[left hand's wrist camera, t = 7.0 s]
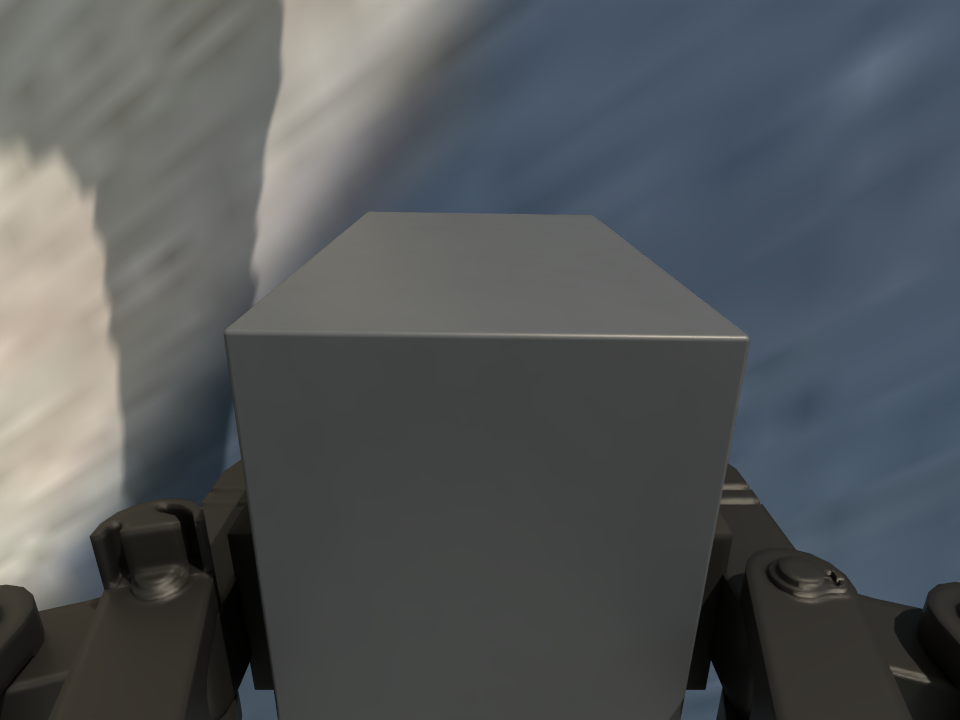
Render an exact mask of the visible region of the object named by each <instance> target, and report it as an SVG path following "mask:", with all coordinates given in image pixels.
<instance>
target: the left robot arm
mask: <svg viewBox="0 0 960 720" xmlns="http://www.w3.org/2000/svg"><path fill="white" fill-rule="evenodd" d="M90 539H91V543H92V547H93V550H94V554H95V557H96V561H97V565H98V568H99V572H100V575H101V579H102V583H103V586H104V592H103V594H102V596H101V597H99V598H96V599H92V600H89V601H84V602H80V603H75V604H71V605H66V606H61V607H57V608H52V609H48V610H43V611H38V609H37V606H36V603H35V600H34V597H33V595H32V594H31V593H30V592H29V591H28V590H26V589H25V588H24V587H19V586H12V585H0V720H242V711H241V704H240V698H239V693H238V688H239V686H240V684H241V681H242V679H243V677H244V674H245V672H246V670H247V667H248V665H249V663H250V665H251V671H252V676H253V682H254V687H255V690H274V688H273V680H272V673H271V666H270V659H269V652H268V645H267V638H266V631H265V624H264V616H263V609H262V602H261V595H260V588H259V581H258V574H257V567H256V559H255V552H254V545H253V538H252V531H251V524H250V517H249V510H248V502H247V495H246V488H245V481H244V474H243V467H242V460H240V461H239V462H237V463H236V464H234V465H233V466H231V467H230V468H228V469H227V470H225V471H224V472H223V474H222V475H221V476H220V478H219V479H218V480H217V482H216V483H215V484H214V486H213V487H212V491H211V492H209V493H208V494H207V495H206V497H205V498H204V499H203V501H202V502H201V506H198V505H197V504H196V503H195V502H192V501H188V500H184V499H179V498H177V499H158V500H153V501H149V502H144V503H140V504H137V505H134V506H132V507H129V508H127V509H125V510H122V511H120V512H117V513H116V514H114V515H113V516H111V517H110V518H108V519H107V520H105V521H104V522H102V523H101V524H100V525H99V526H98V527H97V528H96V530H95V531H94V532H93V533H92V534H91V535H90ZM711 661H712V663H713V666H714V668H715V670H716V673H717V675H718V677H719V680H720V682H721V684H722V693H721V698H720V703H719V708H718V713H717V719H716V720H960V583H958V582H952V583H945V584H938V585H937V586H936V587H934V588H933V589H932V590H931V591H929V592H928V595H927V598H926V601H925V604H924V607H923V609H920V608H916V607H911V606H907V605H902V604H897V603H893V602H888V601H884V600H879V599H874V598H871V597H867V596H864V595H860V594H858V593H857V591H856V589H855V587H854V586H853V585H852V583H851V582H850V580H849V579H848V578H847V576H846V575H845V574H844V573H842V572H841V571H840V570H838V569H837V568H836V567H834V566H833V565H832V564H830V563H829V562H827V561H825V560H822V559H820V558H818V557H816V556H814V555H812V554H810V553H806V552H802V551H798V550H796V549H795V548H794V546H793V545H792V544H791V542H790V541H789V540H788V538H787V537H786V536H785V534H784V533H783V532H782V530H781V529H780V527H779V526H778V525H777V523H776V522H775V521H774V519H773V518H772V517H771V515H770V514H769V513H768V511H767V510H766V509H765V507H764V506H763V504H760V500H759V499H758V498H757V496H756V495H755V494H754V492H753V491H752V490H749V485H748V484H747V483H746V481H745V480H744V479H743V477H742V476H741V475H740V473H739V472H738V471H737V469H735V468H734V467H732V466H731V465H729V464H728V463H727V469H726V474H725V480H724V485H723V491H722V496H721V502H720V507H719V512H718V518H717V523H716V529H715V534H714V540H713V545H712V550H711V556H710V561H709V567H708V572H707V578H706V583H705V588H704V594H703V599H702V605H701V610H700V616H699V621H698V626H697V632H696V637H695V643H694V648H693V654H692V659H691V664H690V670H689V675H688V681H687V686H686V690H705V689H706V684H707V678H708V673H709V667H710V662H711Z"/></svg>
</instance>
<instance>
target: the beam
mask: <svg viewBox="0 0 960 720" xmlns="http://www.w3.org/2000/svg"><path fill="white" fill-rule="evenodd" d="M224 339H225V346H226V353H227V360H228V367H229V374H230V381H231V389H232V396H233V403H234V410H235V417H236V424H237V431H238V438H239V445H240V453H241V460H242V467H243V474H244V481H245V488H246V495H247V502H248V510H249V517H250V524H251V531H252V538H253V545H254V552H255V559H256V567H257V574H258V581H259V588H260V595H261V602H262V609H263V616H264V624H265V631H266V638H267V645H268V652H269V659H270V666H271V673H272V680H273V688H274V695H275V702H276V709H277V716H278V720H680V719H681V713H682V708H683V702H684V697H685V692H686V686H687V681H688V675H689V670H690V664H691V659H692V654H693V648H694V643H695V637H696V632H697V626H698V621H699V616H700V610H701V605H702V599H703V594H704V588H705V583H706V578H707V572H708V567H709V561H710V556H711V550H712V545H713V540H714V534H715V529H716V523H717V518H718V512H719V507H720V502H721V496H722V491H723V485H724V480H725V474H726V469H727V463H728V458H729V453H730V447H731V442H732V436H733V431H734V425H735V420H736V415H737V409H738V404H739V398H740V393H741V387H742V382H743V377H744V371H745V366H746V360H747V355H748V349H749V344H750V339H749V336H748V335H746V334H745V333H744V332H743V331H741V330H740V329H739V328H737V327H736V326H735V325H734V324H732V323H731V322H730V321H728V320H727V319H726V318H725V317H723V316H722V315H721V314H719V313H718V312H717V311H715V310H714V309H713V308H712V307H710V306H709V305H708V304H706V303H705V302H704V301H703V300H701V299H700V298H699V297H697V296H696V295H695V294H694V293H692V292H691V291H690V290H688V289H687V288H686V287H684V286H683V285H682V284H681V283H679V282H678V281H677V280H675V279H674V278H673V277H672V276H670V275H669V274H668V273H666V272H665V271H664V270H663V269H661V268H660V267H659V266H657V265H656V264H655V263H653V262H652V261H651V260H650V259H648V258H647V257H646V256H644V255H643V254H642V253H641V252H639V251H638V250H637V249H635V248H634V247H633V246H631V245H630V244H629V243H628V242H626V241H625V240H624V239H622V238H621V237H620V236H619V235H617V234H616V233H615V232H613V231H612V230H611V229H610V228H608V227H607V226H606V225H604V224H603V223H602V222H600V221H599V220H598V219H597V218H595V217H594V216H592V215H543V214H479V213H414V212H368V213H366V214H365V215H364V216H363V217H361V218H360V219H359V220H358V221H356V222H355V223H354V224H353V225H352V226H350V227H349V228H348V229H347V230H346V231H344V232H343V233H342V234H341V235H339V236H338V237H337V238H336V239H335V240H333V241H332V242H331V243H330V244H328V245H327V246H326V247H325V248H324V249H322V250H321V251H320V252H319V253H318V254H316V255H315V256H314V257H313V258H311V259H310V260H309V261H308V262H307V263H305V264H304V265H303V266H302V267H301V268H299V269H298V270H297V271H296V272H294V273H293V274H292V275H291V276H290V277H288V278H287V279H286V280H285V281H283V282H282V283H281V284H280V285H279V286H277V287H276V288H275V289H274V290H273V291H271V292H270V293H269V294H268V295H266V296H265V297H264V298H263V299H262V300H260V301H259V302H258V303H257V304H256V305H254V306H253V307H252V308H251V309H249V310H248V311H247V312H246V313H245V314H243V315H242V316H241V317H240V318H238V319H237V320H236V321H235V322H234V323H232V324H231V325H230V326H229V327H228V328H226V329H225V332H224Z"/></svg>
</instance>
